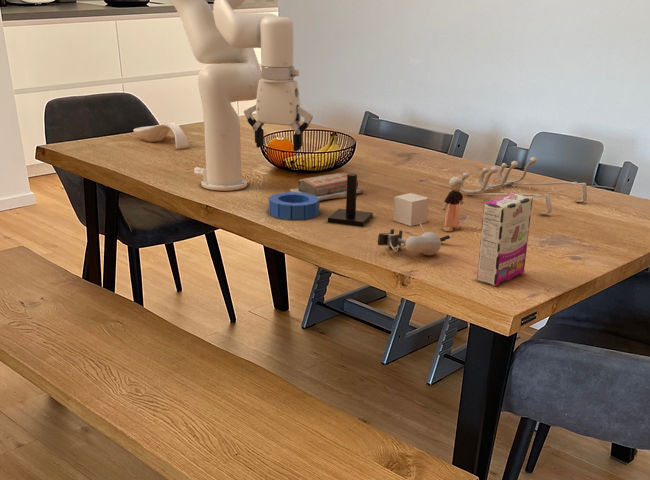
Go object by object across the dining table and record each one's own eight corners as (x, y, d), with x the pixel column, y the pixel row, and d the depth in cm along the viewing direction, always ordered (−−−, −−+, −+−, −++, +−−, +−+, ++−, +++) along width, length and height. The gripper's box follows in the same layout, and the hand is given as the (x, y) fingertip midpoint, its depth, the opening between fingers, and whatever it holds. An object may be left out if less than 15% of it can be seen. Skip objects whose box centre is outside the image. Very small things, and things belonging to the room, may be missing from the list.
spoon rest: (127, 139, 277) (125, 117, 273) (157, 135, 284) (155, 113, 281) (168, 151, 263) (167, 128, 259) (198, 146, 270) (197, 124, 267)
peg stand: (327, 222, 201) (328, 176, 196) (338, 213, 208) (340, 168, 203) (362, 226, 199) (364, 180, 193) (372, 217, 206) (375, 172, 201)
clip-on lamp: (415, 249, 194) (372, 250, 180) (418, 222, 193) (375, 221, 178) (459, 256, 188) (417, 257, 173) (462, 228, 186) (421, 227, 172)
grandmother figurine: (451, 233, 197) (456, 180, 191) (437, 230, 198) (442, 178, 192) (465, 226, 202) (471, 174, 196) (451, 223, 204) (456, 172, 198)
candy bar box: (504, 268, 176) (513, 192, 169) (524, 274, 173) (534, 197, 166) (474, 280, 169) (483, 201, 161) (494, 287, 166) (504, 207, 158)
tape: (261, 216, 203) (261, 201, 202) (280, 203, 214) (279, 190, 212) (308, 222, 200) (308, 207, 199) (325, 209, 211) (325, 195, 209)
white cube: (409, 216, 208) (411, 192, 206) (426, 222, 205) (428, 198, 202) (393, 220, 205) (394, 196, 202) (410, 226, 201) (412, 201, 198)
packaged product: (340, 169, 230) (364, 176, 224) (340, 186, 232) (363, 194, 226) (289, 177, 219) (312, 185, 213) (289, 195, 221) (312, 203, 215)
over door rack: (501, 182, 244) (505, 149, 239) (588, 203, 226) (594, 167, 222) (457, 194, 229) (460, 159, 225) (547, 217, 212) (552, 179, 208)
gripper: (317, 74, 194) (316, 148, 202) (249, 70, 198) (251, 142, 206) (306, 78, 188) (306, 154, 196) (237, 73, 192) (239, 148, 200)
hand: (278, 148), depth 201 cm, fingers open, 9 cm apart
